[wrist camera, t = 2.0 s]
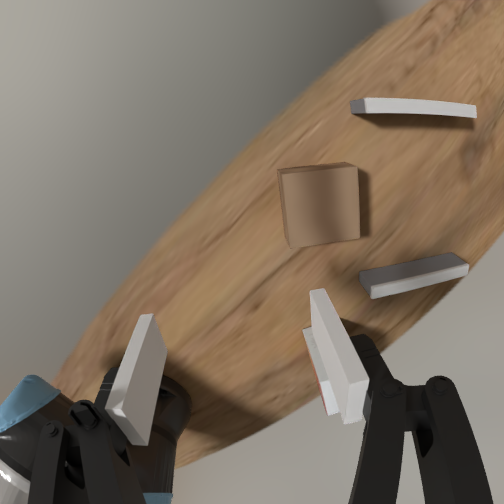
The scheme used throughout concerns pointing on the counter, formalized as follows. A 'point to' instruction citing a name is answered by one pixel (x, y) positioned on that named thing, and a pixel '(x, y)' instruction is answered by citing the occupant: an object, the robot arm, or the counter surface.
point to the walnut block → (319, 203)
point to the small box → (320, 373)
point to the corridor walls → (425, 269)
